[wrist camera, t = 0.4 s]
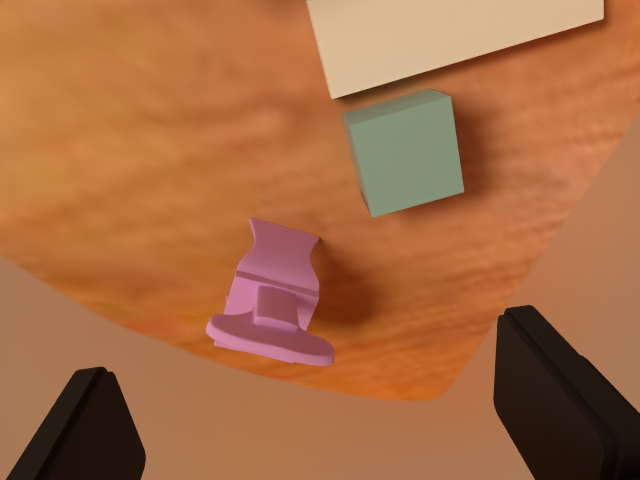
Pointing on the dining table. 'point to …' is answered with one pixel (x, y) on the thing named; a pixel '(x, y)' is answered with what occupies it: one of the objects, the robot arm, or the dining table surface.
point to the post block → (428, 34)
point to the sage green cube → (405, 151)
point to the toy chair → (273, 299)
